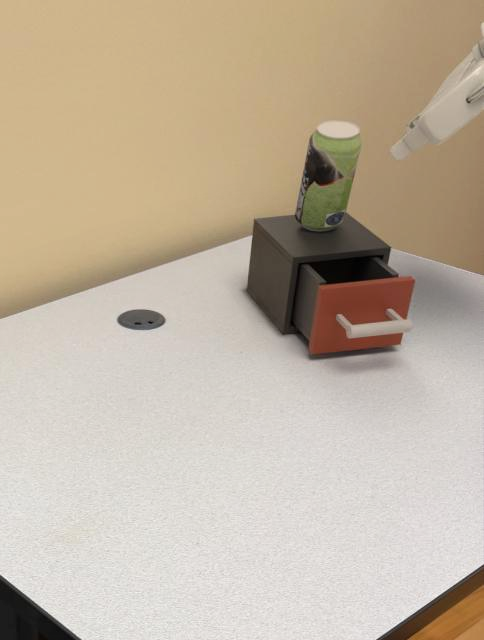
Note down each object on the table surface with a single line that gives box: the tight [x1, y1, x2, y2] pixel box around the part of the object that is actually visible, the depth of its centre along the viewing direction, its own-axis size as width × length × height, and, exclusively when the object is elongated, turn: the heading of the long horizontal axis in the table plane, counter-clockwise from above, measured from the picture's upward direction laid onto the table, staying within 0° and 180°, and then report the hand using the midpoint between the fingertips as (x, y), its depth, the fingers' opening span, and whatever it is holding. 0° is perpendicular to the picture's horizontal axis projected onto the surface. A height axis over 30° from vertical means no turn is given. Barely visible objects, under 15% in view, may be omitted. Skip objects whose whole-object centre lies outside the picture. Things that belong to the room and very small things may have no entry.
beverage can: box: [294, 119, 363, 232], centre depth 109 cm, size 6×7×12 cm
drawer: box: [291, 255, 416, 355], centre depth 106 cm, size 18×11×8 cm, turn 8°
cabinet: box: [246, 212, 392, 335], centre depth 115 cm, size 15×12×10 cm
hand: (401, 143), depth 103 cm, fingers open, 8 cm apart
